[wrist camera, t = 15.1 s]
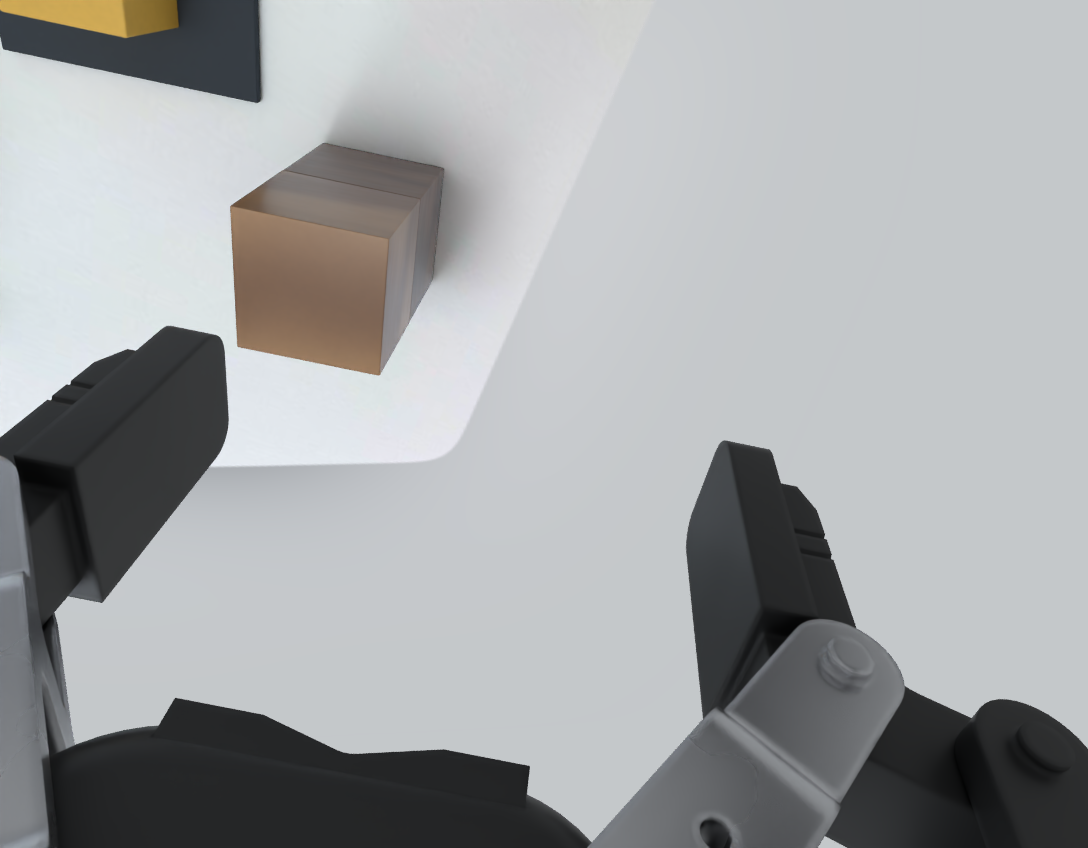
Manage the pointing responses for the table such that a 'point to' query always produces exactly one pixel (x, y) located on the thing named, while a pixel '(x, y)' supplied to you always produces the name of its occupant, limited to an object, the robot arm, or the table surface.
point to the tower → (335, 256)
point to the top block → (101, 14)
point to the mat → (159, 47)
